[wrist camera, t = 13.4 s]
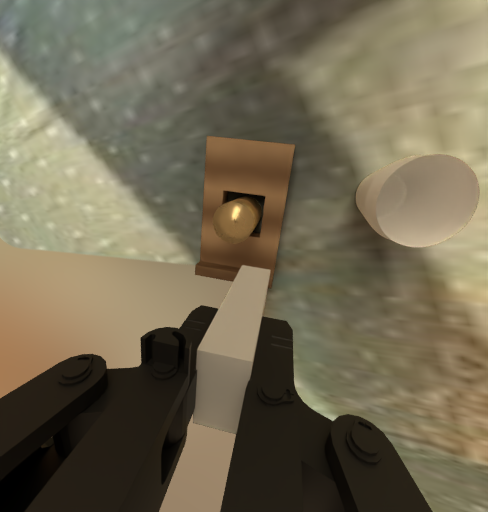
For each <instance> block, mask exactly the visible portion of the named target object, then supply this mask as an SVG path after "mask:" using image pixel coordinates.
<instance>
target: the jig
mask: <svg viewBox="0 0 488 512" xmlns="http://www.w3.org/2000/svg"><path fill="white" fill-rule="evenodd" d="M294 148H295V145H292V144H282V143H272V142H262V141H252V140H242V139H232V138H222V137H212V136H207V145H206V163H205V181H204V199H203V218H202V236H201V254H200V262H199V263H197V264H196V268H195V275H200V276H206V277H211V278H216V279H222V280H227V281H234V279H235V278H236V276H237V274H238V272H239V270H240V268H241V266H242V265H245V266H251V267H257V268H263V269H269V270H271V271H270V277H269V284H268V288H271V287H272V281H273V275H274V269H275V263H276V257H277V251H278V245H279V238H280V232H281V226H282V220H283V214H284V208H285V202H286V196H287V190H288V184H289V178H290V172H291V166H292V160H293V154H294ZM228 191H232V192H240V193H247V194H255V195H263V196H266V197H265V204H264V211H263V219H262V226H261V233H254V232H252V233H251V234H250V236H249V237H248V238H247V239H246V240H244V241H243V242H240V243H234V244H233V243H228V242H225V241H223V240H222V239H221V238H219V237H218V235H217V234H216V232H215V230H214V228H213V216H214V214H215V212H216V210H217V209H218V208H219V207H220V206H221V205H223V204H225V203H227V197H228Z"/></svg>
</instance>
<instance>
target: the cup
mask: <svg viewBox="0 0 488 512" xmlns="http://www.w3.org/2000/svg"><path fill="white" fill-rule="evenodd" d="M478 200H479V184H478V180H477V177H476V175H475V173H474V172H473V170H472V169H471V168H470V167H469V166H468V165H467V164H466V163H465V162H463V161H461V160H460V159H458V158H455V157H452V156H448V155H442V154H434V155H414V156H409V157H405V158H402V159H400V160H397V161H395V162H393V163H391V164H389V165H387V166H385V167H383V168H381V169H379V170H378V171H376V172H374V173H372V174H370V175H369V176H367V177H366V178H365V179H364V180H363V181H362V182H361V183H360V185H359V186H358V189H357V191H356V205H357V207H358V209H359V210H360V212H361V213H362V215H363V216H364V217H365V219H366V220H367V222H368V223H369V224H370V226H371V227H372V228H373V229H374V230H375V231H376V232H377V233H378V234H379V235H381V236H383V237H384V238H386V239H389V240H392V241H394V242H396V243H398V244H401V245H404V246H409V247H427V246H432V245H436V244H439V243H441V242H443V241H446V240H447V239H449V238H451V237H453V236H454V235H455V234H457V233H458V232H459V231H460V230H461V229H463V227H464V226H465V225H466V224H467V223H468V222H469V220H470V219H471V218H472V216H473V214H474V212H475V210H476V207H477V204H478Z"/></svg>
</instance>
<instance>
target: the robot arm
mask: <svg viewBox="0 0 488 512" xmlns="http://www.w3.org/2000/svg"><path fill="white" fill-rule="evenodd" d="M270 271H271V270H269V269H263V268H257V267H251V266H245V265H242V266H241V268H240V270H239V272H238V274H237V276H236V278H235V279H234V281H233V283H232V285H231V287H230V289H229V291H228V293H227V295H226V296H225V298H224V300H223V302H222V304H221V306H220V308H219V309H217V308H212V307H207V306H200V307H198V308H196V309H195V310H193V311H192V312H191V313H190V314H189V316H188V317H187V319H186V320H185V321H184V323H183V324H182V326H181V327H180V328H179V329H178V328H171V327H164V328H158V329H155V330H152V331H150V332H148V333H146V334H145V335H144V336H142V337H141V361H142V363H141V365H140V366H139V367H133V368H118V369H107V367H106V361H105V360H104V359H103V358H102V357H101V356H98V355H94V354H82V355H78V356H74V357H70V358H68V359H66V360H64V361H62V362H60V363H58V364H56V365H55V366H53V367H52V368H50V369H48V370H47V371H45V372H43V373H42V374H40V375H38V376H37V377H35V378H33V379H32V380H30V381H28V382H27V383H25V384H23V385H22V386H20V387H18V388H17V389H15V390H13V391H12V392H10V393H8V394H7V395H5V396H4V397H2V398H0V512H159V510H160V507H161V504H162V502H163V499H164V497H165V494H166V492H167V489H168V486H169V484H170V481H171V479H172V476H173V473H174V471H175V468H176V466H177V463H178V461H179V458H180V455H181V453H182V450H183V448H184V445H185V442H186V436H187V426H188V424H189V421H190V419H191V416H192V414H193V423H196V424H199V425H203V426H207V427H211V428H215V429H218V430H222V431H226V432H229V433H234V434H236V438H235V443H234V448H233V453H232V458H231V462H230V467H229V472H228V477H227V482H226V487H225V492H224V496H223V501H222V506H221V511H220V512H432V510H431V508H430V507H429V505H428V503H427V502H426V500H425V498H424V497H423V495H422V493H421V492H420V490H419V488H418V487H417V485H416V483H415V482H414V480H413V478H412V477H411V475H410V473H409V472H408V470H407V468H406V467H405V465H404V463H403V462H402V460H401V458H400V457H399V455H398V453H397V452H396V450H395V448H394V447H393V445H392V444H391V442H390V441H389V440H388V438H387V437H386V436H385V434H384V433H383V432H382V431H381V430H379V429H378V428H377V427H376V426H375V425H374V424H372V423H371V422H369V421H367V420H365V419H363V418H361V417H359V416H354V415H349V414H347V415H342V416H339V417H337V418H336V419H335V420H334V421H332V420H330V419H328V418H326V417H324V416H323V415H321V414H319V413H317V412H316V411H314V410H313V409H311V408H310V407H308V406H307V405H306V404H305V403H304V402H303V401H302V399H301V398H300V397H299V395H298V394H297V391H296V389H295V385H294V368H293V330H292V329H291V327H290V325H289V324H288V322H287V321H283V320H278V319H273V318H268V317H263V315H264V308H265V302H266V296H267V290H268V284H269V277H270ZM52 436H53V437H52Z"/></svg>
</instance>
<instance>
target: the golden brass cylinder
mask: <svg viewBox="0 0 488 512" xmlns="http://www.w3.org/2000/svg"><path fill="white" fill-rule="evenodd" d="M261 216H262V208H261V205H260V204H259V202H258V201H257V200H256V199H254V198H252V197H249V196H243V197H240V198H238V199H235V200H232V201H230V202H227V203H225V204H223V205H221V206H220V207H219V208H218V209H217V210H216V212H215V214H214V216H213V228H214V230H215V232H216V234H217V235H218V237H219V238H221V239H222V240H223V241H225V242H228V243H233V244H234V243H240V242H243V241H244V240H246V239H247V238H248V237H249V236H250V234H251V233H252V231H253V230H254V228H255V227H256V225H257V224H258V222H259V221H260V219H261Z"/></svg>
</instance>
